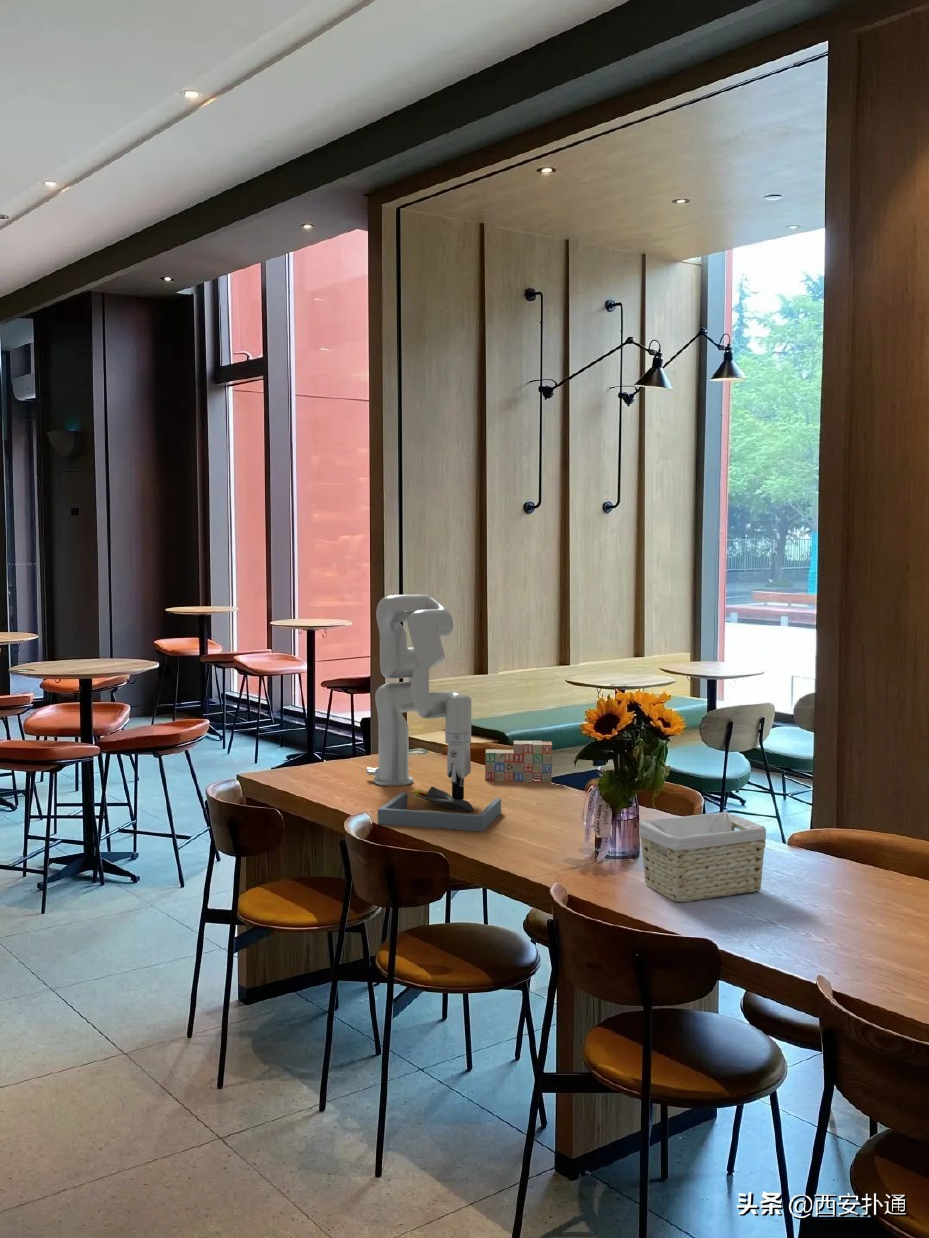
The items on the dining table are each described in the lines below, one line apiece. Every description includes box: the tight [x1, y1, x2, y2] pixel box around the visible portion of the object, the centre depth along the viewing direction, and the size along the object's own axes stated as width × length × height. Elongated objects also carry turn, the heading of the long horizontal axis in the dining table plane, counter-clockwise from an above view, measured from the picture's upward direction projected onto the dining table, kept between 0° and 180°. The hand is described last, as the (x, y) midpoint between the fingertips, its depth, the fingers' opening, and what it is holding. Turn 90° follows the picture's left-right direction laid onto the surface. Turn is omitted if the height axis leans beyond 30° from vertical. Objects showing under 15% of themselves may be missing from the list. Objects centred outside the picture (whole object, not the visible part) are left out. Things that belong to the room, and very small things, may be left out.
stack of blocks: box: [484, 740, 553, 783], centre depth 353 cm, size 21×6×12 cm, turn 87°
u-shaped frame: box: [377, 791, 502, 832], centre depth 303 cm, size 29×21×4 cm
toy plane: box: [408, 786, 475, 813], centre depth 317 cm, size 25×17×5 cm
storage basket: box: [638, 811, 767, 903], centre depth 242 cm, size 24×16×15 cm
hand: (457, 799), depth 320 cm, fingers closed
